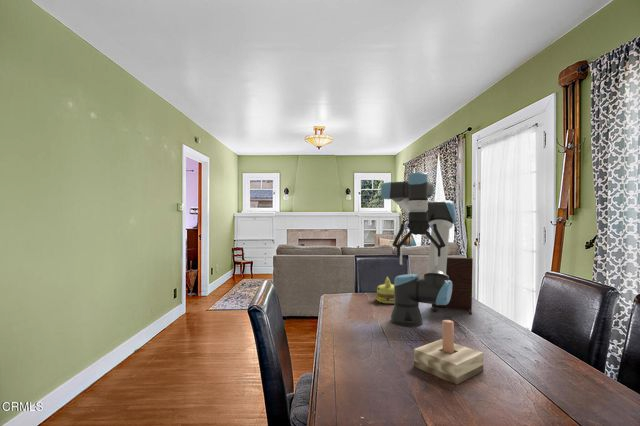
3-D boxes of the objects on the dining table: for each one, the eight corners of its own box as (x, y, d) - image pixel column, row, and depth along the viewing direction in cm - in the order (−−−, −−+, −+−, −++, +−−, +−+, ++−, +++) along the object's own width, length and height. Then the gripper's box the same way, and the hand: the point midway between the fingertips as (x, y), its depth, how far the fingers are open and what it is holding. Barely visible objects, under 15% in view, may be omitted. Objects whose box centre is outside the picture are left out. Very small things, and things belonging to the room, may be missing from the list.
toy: (375, 298, 216) (375, 275, 216) (399, 299, 214) (399, 275, 215) (376, 304, 201) (376, 279, 201) (403, 305, 199) (403, 279, 199)
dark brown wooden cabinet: (471, 310, 188) (470, 256, 189) (473, 315, 178) (472, 258, 179) (431, 307, 195) (431, 255, 196) (431, 311, 185) (431, 257, 186)
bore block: (414, 366, 117) (414, 349, 117) (441, 355, 126) (441, 339, 126) (456, 384, 104) (456, 365, 104) (483, 370, 113) (483, 352, 114)
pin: (440, 362, 115) (440, 321, 116) (446, 359, 117) (446, 319, 118) (450, 366, 112) (449, 323, 113) (456, 363, 115) (455, 321, 115)
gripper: (386, 211, 133) (387, 265, 133) (453, 211, 130) (453, 266, 129) (385, 211, 141) (386, 262, 140) (448, 211, 137) (448, 263, 137)
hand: (418, 264), depth 135 cm, fingers open, 13 cm apart
